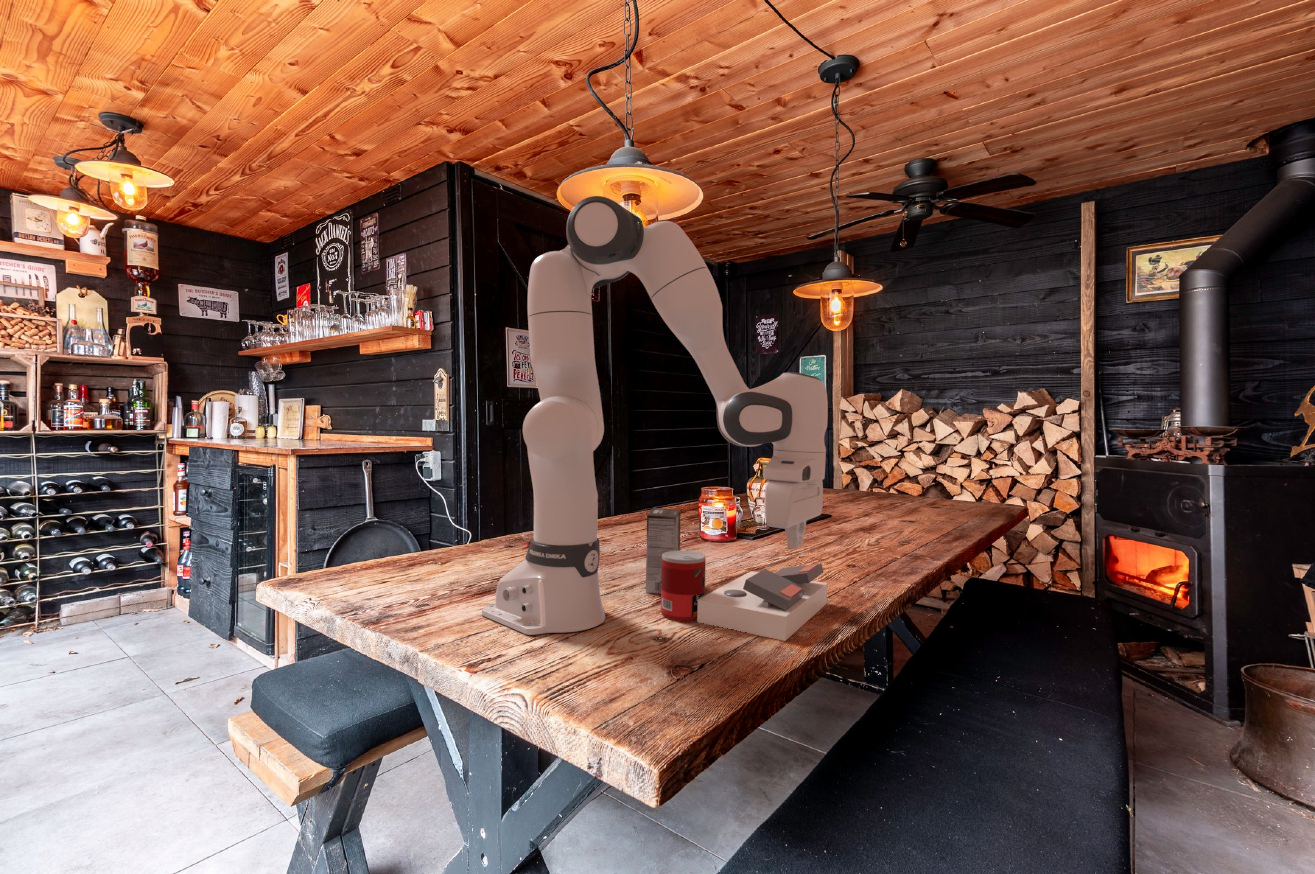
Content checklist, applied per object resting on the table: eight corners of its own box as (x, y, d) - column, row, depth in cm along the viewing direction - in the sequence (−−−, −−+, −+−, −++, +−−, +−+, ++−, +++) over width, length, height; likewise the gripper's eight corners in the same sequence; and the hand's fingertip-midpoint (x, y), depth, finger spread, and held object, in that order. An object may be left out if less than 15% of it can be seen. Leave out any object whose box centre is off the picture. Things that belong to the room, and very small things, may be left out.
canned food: (701, 623, 106) (702, 561, 105) (656, 619, 107) (657, 558, 107) (706, 610, 113) (708, 551, 113) (664, 606, 115) (665, 549, 114)
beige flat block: (697, 622, 106) (697, 593, 106) (750, 590, 127) (751, 566, 127) (785, 641, 98) (785, 610, 98) (826, 603, 119) (827, 578, 118)
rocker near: (742, 589, 104) (746, 578, 104) (762, 577, 112) (765, 568, 112) (785, 610, 101) (788, 599, 100) (802, 597, 108) (805, 587, 108)
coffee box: (651, 581, 132) (652, 507, 132) (680, 582, 132) (681, 508, 131) (644, 593, 123) (645, 514, 123) (675, 594, 123) (677, 515, 122)
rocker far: (768, 587, 114) (766, 576, 114) (784, 576, 121) (782, 567, 122) (809, 582, 110) (806, 572, 110) (823, 572, 117) (821, 562, 117)
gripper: (800, 463, 115) (796, 535, 115) (759, 469, 98) (755, 554, 98) (833, 466, 112) (829, 540, 112) (797, 472, 94) (793, 560, 95)
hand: (794, 547), depth 105 cm, fingers closed
